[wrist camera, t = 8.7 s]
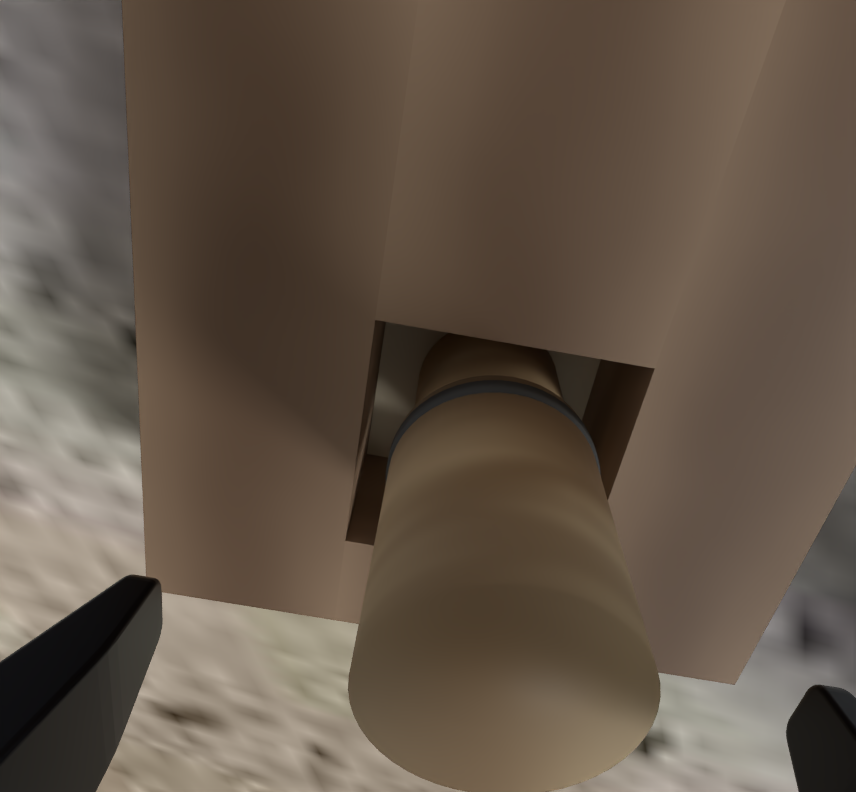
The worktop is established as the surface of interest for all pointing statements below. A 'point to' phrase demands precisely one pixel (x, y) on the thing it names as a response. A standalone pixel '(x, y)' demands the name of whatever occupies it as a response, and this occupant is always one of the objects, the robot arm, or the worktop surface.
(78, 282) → the worktop surface
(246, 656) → the worktop surface
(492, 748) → the oak peg
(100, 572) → the worktop surface
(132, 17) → the walnut socket block
